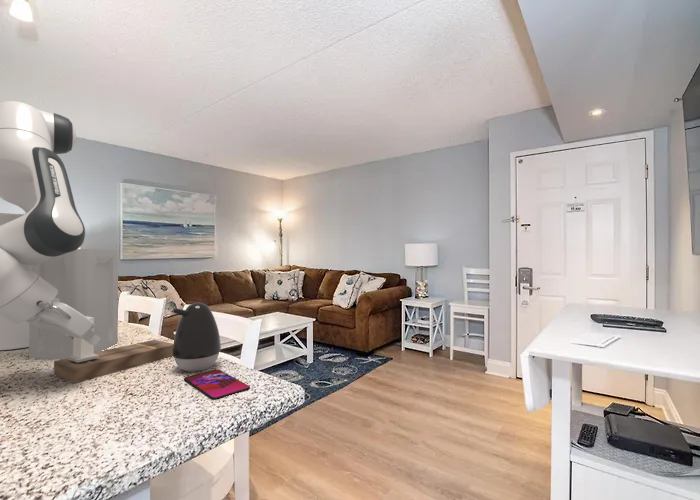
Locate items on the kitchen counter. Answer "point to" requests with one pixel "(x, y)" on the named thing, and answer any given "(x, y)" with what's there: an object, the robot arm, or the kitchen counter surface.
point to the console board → (113, 360)
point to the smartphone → (216, 384)
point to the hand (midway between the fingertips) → (86, 339)
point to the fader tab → (82, 349)
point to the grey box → (80, 299)
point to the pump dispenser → (196, 338)
